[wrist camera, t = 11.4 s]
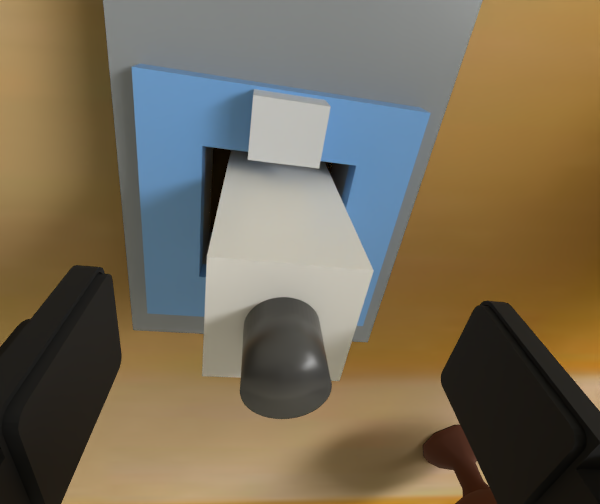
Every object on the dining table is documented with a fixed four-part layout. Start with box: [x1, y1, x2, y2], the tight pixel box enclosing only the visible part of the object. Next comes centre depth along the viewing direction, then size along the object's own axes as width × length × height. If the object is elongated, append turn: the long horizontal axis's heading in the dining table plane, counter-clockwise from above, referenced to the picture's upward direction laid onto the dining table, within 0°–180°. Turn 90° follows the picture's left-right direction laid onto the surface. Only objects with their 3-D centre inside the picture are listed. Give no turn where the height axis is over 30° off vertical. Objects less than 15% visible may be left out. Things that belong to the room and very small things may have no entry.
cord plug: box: [202, 150, 374, 419], centre depth 13 cm, size 4×4×12 cm
